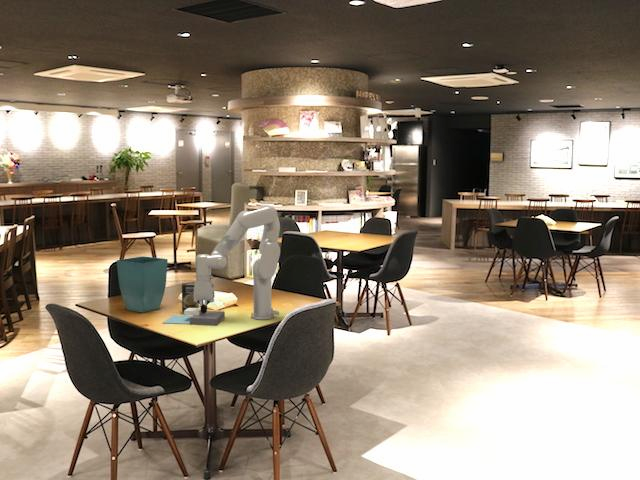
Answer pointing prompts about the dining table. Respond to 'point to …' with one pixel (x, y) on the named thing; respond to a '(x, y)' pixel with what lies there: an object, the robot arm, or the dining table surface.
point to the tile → (193, 311)
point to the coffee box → (188, 297)
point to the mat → (178, 319)
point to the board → (208, 318)
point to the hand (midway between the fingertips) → (203, 312)
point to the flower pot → (142, 282)
